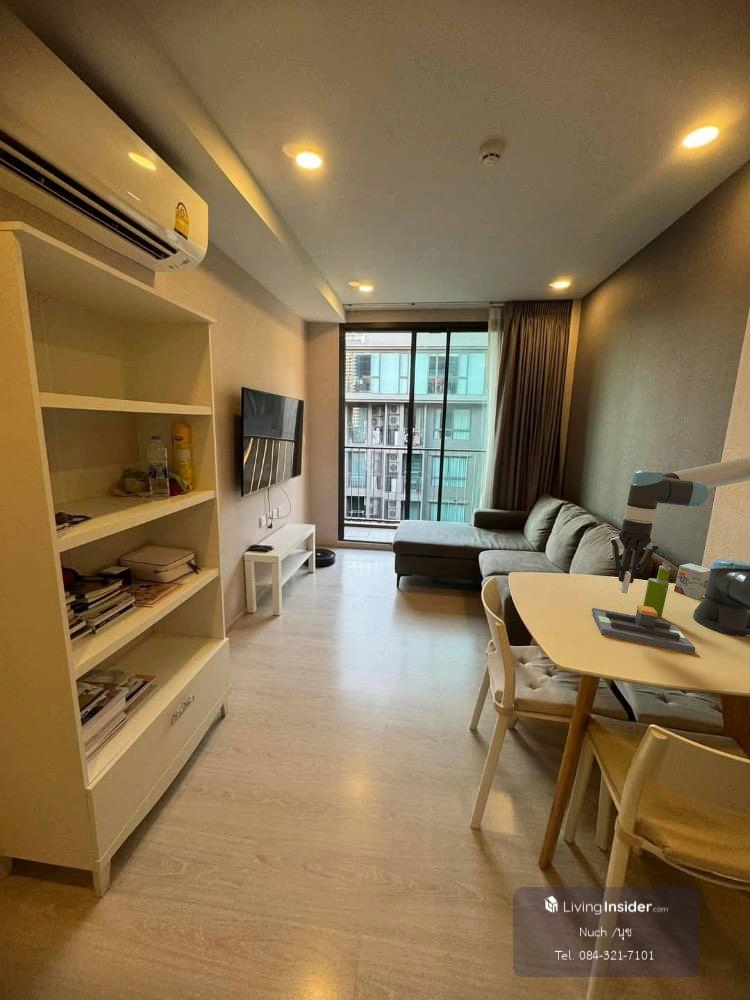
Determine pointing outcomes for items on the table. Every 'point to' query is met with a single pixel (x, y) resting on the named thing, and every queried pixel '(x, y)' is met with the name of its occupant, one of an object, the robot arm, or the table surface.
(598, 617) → the panel
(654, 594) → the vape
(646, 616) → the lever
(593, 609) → the grey twin rods
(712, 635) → the table surface
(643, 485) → the robot arm
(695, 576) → the ink box
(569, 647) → the table surface
